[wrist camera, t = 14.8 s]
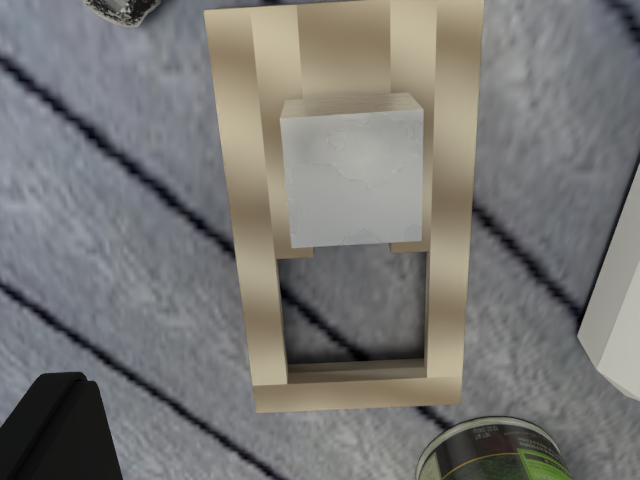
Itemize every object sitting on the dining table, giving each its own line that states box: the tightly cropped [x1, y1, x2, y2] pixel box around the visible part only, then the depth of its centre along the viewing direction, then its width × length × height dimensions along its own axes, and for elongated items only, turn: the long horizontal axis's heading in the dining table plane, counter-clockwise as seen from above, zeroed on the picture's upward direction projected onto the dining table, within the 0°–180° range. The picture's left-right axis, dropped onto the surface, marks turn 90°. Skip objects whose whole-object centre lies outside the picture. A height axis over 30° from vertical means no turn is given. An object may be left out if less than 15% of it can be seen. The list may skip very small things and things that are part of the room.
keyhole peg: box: [280, 92, 424, 248], centre depth 25 cm, size 6×6×10 cm
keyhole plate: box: [204, 0, 484, 413], centre depth 30 cm, size 22×12×3 cm, turn 3°
